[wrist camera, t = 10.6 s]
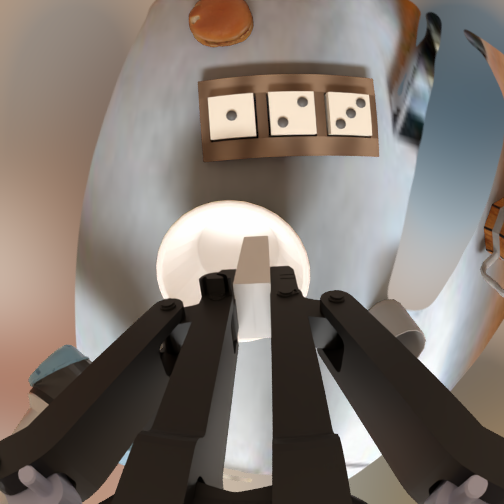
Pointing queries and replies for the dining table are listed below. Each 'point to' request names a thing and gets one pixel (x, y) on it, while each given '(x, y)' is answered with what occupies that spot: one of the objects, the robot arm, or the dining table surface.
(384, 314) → the cup
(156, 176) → the dining table surface
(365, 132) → the tile three
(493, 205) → the mug
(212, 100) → the tile one
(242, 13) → the burger
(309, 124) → the tile two
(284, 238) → the bowl
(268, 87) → the board
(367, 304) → the dining table surface
